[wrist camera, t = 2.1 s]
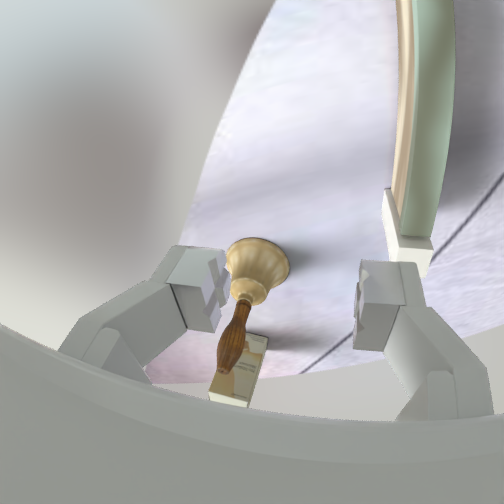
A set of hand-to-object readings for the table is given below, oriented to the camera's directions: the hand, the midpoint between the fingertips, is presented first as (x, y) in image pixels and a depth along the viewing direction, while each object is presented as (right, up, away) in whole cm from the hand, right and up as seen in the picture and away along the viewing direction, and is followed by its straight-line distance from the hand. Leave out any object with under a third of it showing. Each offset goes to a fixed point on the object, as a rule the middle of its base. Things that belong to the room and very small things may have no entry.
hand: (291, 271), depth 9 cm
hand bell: (0, -1, +32) cm, 32 cm away
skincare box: (-2, -14, +43) cm, 45 cm away
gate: (+13, +15, +13) cm, 24 cm away
